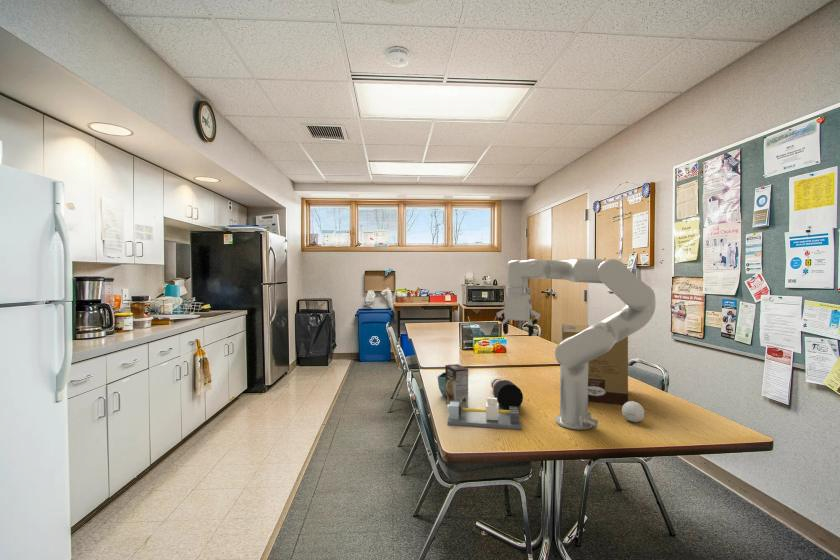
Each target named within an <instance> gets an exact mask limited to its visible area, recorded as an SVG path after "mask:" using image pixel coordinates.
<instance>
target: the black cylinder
mask: <svg viewBox="0 0 840 560" xmlns="http://www.w3.org/2000/svg"><path fill="white" fill-rule="evenodd" d="M490 387H491V388H492V390H493V395H494V398H497V403H498V405H500V406H501V407H502V408H503V409H504V410H509V406H510V407H518V408H519V407H520V406H521V405H522V403H523V400H524V395H523V392H522V390H521V388H519V386H517V385H516V384H515V383H513V381H511V380H508V379H504V380H503V379H502V378H501V377H493V379H491V381H490Z"/></svg>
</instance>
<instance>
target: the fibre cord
mask: <svg viewBox="0 0 840 560" xmlns="http://www.w3.org/2000/svg"><path fill="white" fill-rule="evenodd" d="M461 410H462V412H469V413H486V408H476V407H475V408H473V407H466V408H462V409H461ZM498 411H499V414H504V415H509V414H510V410H508V409H498Z"/></svg>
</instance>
